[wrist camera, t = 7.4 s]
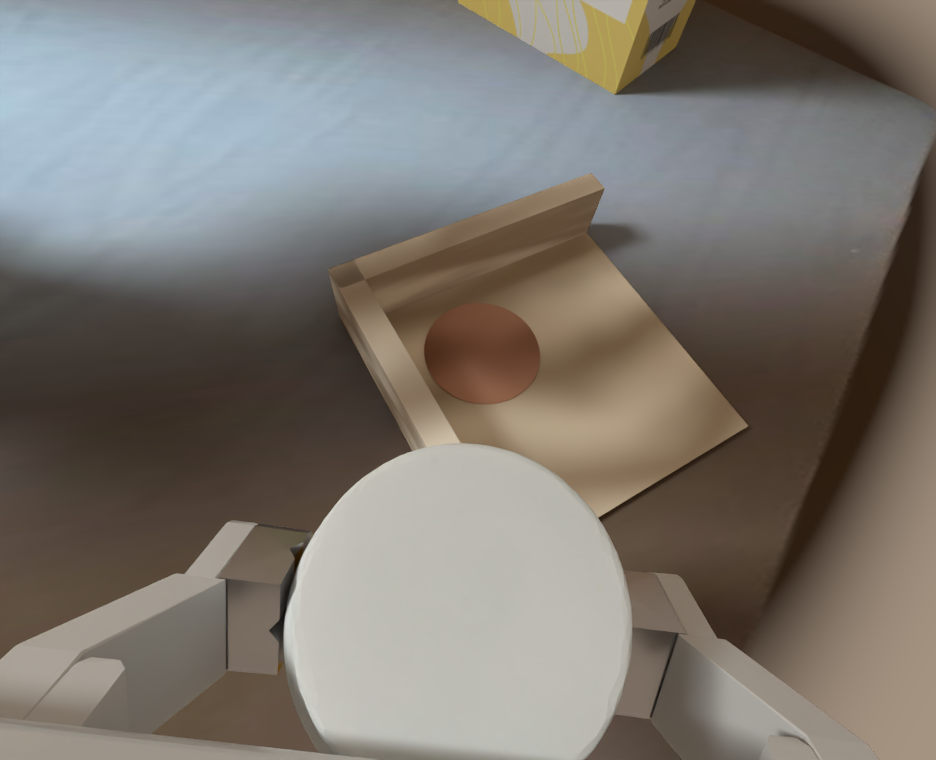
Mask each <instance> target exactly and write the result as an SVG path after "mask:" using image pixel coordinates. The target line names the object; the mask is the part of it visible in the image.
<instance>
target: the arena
mask: <svg viewBox="0 0 936 760" xmlns="http://www.w3.org/2000/svg"><path fill="white" fill-rule="evenodd" d="M604 189H605V188H604V187H603V186H602V184H601V183H600V182H599V181H598V180H597V179H596V178H595V177H594V176H593V174H592V173H590V174H587V175H584V176H581V177H579V178H576V179H573V180H570V181H568V182H565V183H562V184H560V185H557V186H554V187H551V188H549V189H546V190H543V191H540V192H538V193H535V194H532V195H529V196H527V197H524V198H521V199H519V200H516V201H513V202H510V203H508V204H505V205H502V206H499V207H497V208H494V209H491V210H488V211H486V212H483V213H480V214H478V215H475V216H472V217H469V218H467V219H464V220H461V221H458V222H456V223H453V224H450V225H447V226H445V227H442V228H439V229H437V230H434V231H431V232H428V233H426V234H423V235H420V236H417V237H415V238H412V239H409V240H406V241H404V242H401V243H398V244H396V245H393V246H390V247H387V248H385V249H382V250H379V251H376V252H374V253H371V254H368V255H365V256H363V257H360V258H357V259H355V260H352V261H349V262H346V263H344V264H341V265H338V266H335V267H333V268H330V269H328V272H329V276H330V280H331V284H332V288H333V293H334V297H335V301H336V305H337V309H338V313H339V317H340V319H341V320H342V322H343V324H344V326H345V328H346V330H347V331H348V333H349V335H350V337H351V339H352V341H353V343H354V344H355V346H356V348H357V350H358V352H359V354H360V355H361V357H362V359H363V361H364V363H365V365H366V367H367V368H368V370H369V372H370V374H371V376H372V378H373V379H374V381H375V383H376V385H377V387H378V389H379V391H380V392H381V394H382V396H383V398H384V400H385V402H386V403H387V405H388V407H389V409H390V411H391V413H392V415H393V416H394V418H395V420H396V422H397V424H398V426H399V428H400V429H401V431H402V433H403V435H404V437H405V439H406V440H407V442H408V444H409V446H410V448H411V450H412V451H415V450H418V449H421V448H426V447H430V446H437V445H442V444H452V443H468V444H480V445H487V446H492V447H497V448H501V449H505V450H508V451H511V452H515V453H517V454H520V455H523V456H525V457H527V458H529V459H531V460H533V461H536V462H538V463H539V464H541V465H542V466H544V467H546V468H547V469H549V470H551V471H552V472H554V473H555V474H556V475H558V476H559V477H560V478H562V479H563V480H564V481H565V482H566V483H567V484H568V485H570V486H571V487H572V488H573V489H574V490H575V491H576V492H577V493H578V494H579V495H580V496H581V498H582V499H583V500H584V501H585V502H586V503H587V504H588V505H589V506H590V508H591V509H592V510H593V511H594V513H595V514H596V516H597V517H598V518H599V517H600V516H602V515H604V514H605V513H607V512H609V511H610V510H612V509H613V508H615V507H617V506H618V505H620V504H622V503H623V502H625V501H627V500H628V499H630V498H631V497H633V496H635V495H636V494H638V493H640V492H641V491H643V490H645V489H646V488H648V487H649V486H651V485H653V484H654V483H656V482H658V481H659V480H661V479H663V478H664V477H666V476H668V475H669V474H671V473H672V472H674V471H676V470H677V469H679V468H681V467H682V466H684V465H686V464H687V463H689V462H690V461H692V460H694V459H695V458H697V457H699V456H700V455H702V454H704V453H705V452H707V451H709V450H710V449H712V448H713V447H715V446H717V445H718V444H720V443H722V442H723V441H725V440H727V439H728V438H730V437H731V436H733V435H735V434H736V433H738V432H740V431H741V430H743V429H744V428H746V427H747V426H748V425H747V424H746V423H745V421H744V420H743V419H742V418H741V417H740V415H739V414H738V413H737V412H736V411H735V409H734V408H733V407H732V406H731V405H730V403H729V402H728V401H727V400H726V399H725V397H724V396H723V395H722V394H721V393H720V391H719V390H718V389H717V388H716V387H715V385H714V384H713V383H712V382H711V381H710V379H709V378H708V377H707V376H706V375H705V373H704V372H703V371H702V370H701V369H700V367H699V366H698V365H697V364H696V363H695V361H694V360H693V359H692V358H691V357H690V356H689V354H688V353H687V352H686V351H685V350H684V348H683V347H682V346H681V345H680V344H679V342H678V341H677V340H676V339H675V338H674V336H673V335H672V334H671V333H670V332H669V330H668V329H667V328H666V327H665V326H664V324H663V323H662V322H661V321H660V320H659V318H658V317H657V316H656V315H655V314H654V312H653V311H652V310H651V309H650V308H649V306H648V305H647V304H646V303H645V302H644V300H643V299H642V298H641V297H640V296H639V294H638V293H637V292H636V291H635V290H634V288H633V287H632V286H631V285H630V284H629V283H628V281H627V280H626V279H625V278H624V277H623V275H622V274H621V273H620V272H619V271H618V269H617V268H616V267H615V266H614V265H613V263H612V262H611V261H610V260H609V259H608V257H607V256H606V255H605V254H604V253H603V251H602V250H601V249H600V248H599V247H598V245H597V244H596V243H595V242H594V241H593V239H592V238H591V237H590V236H589V235H588V233H587V231H588V229H589V226H590V224H591V221H592V219H593V216H594V214H595V211H596V209H597V206H598V204H599V201H600V199H601V196H602V194H603V192H604Z"/></svg>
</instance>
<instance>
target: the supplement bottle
mask: <svg viewBox="0 0 936 760" xmlns="http://www.w3.org/2000/svg"><path fill="white" fill-rule="evenodd" d="M631 649H632V608H631V602H630V597H629V591H628V586H627V582H626V578H625V574H624V571H623V568H622V565H621V562H620V559H619V557H618V554H617V552H616V550H615V548H614V545H613V543H612V541H611V539H610V537H609V535H608V533H607V532H606V530H605V528H604V527H603V525H602V523H601V522H600V520H599V519H598V517H597V516H596V514H595V513H594V511H593V510H592V509H591V508H590V506H589V505H588V504H587V503H586V502H585V501H584V500H583V499H582V498H581V496H580V495H579V494H578V493H577V492H576V491H575V490H574V489H573V488H572V487H571V486H570V485H568V484H567V483H566V482H565V481H564V480H563V479H562V478H560V477H559V476H558V475H556V474H555V473H554V472H552V471H551V470H549V469H547V468H546V467H544V466H542V465H541V464H539V463H538V462H536V461H533V460H531V459H529V458H527V457H525V456H523V455H520V454H517V453H515V452H511V451H508V450H505V449H501V448H497V447H492V446H487V445H480V444H468V443H452V444H442V445H437V446H430V447H426V448H421V449H418V450H415V451H412V452H408V453H406V454H403V455H400V456H398V457H396V458H394V459H392V460H390V461H388V462H386V463H384V464H383V465H381V466H380V467H378V468H377V469H375V470H374V471H372V472H371V473H369V474H368V475H366V476H364V477H363V478H362V479H361V480H360V481H358V482H357V483H356V484H355V485H354V486H353V487H351V488H350V489H349V490H348V491H347V492H346V493H345V494H344V495H343V496H342V497H341V499H340V500H339V501H338V502H337V503H336V505H335V506H334V507H333V509H332V510H331V511H330V513H329V514H328V515H327V517H326V518H325V519H324V520H323V522H322V524H321V525H320V527H319V528H318V530H317V531H316V532H315V534H314V536H313V537H312V539H311V541H310V542H309V544H308V546H307V548H306V549H305V551H304V553H303V555H302V557H301V560H300V562H299V564H298V567H297V569H296V572H295V575H294V578H293V581H292V584H291V588H290V592H289V596H288V601H287V605H286V612H285V620H284V659H285V666H286V674H287V681H288V685H289V689H290V692H291V696H292V699H293V702H294V705H295V708H296V711H297V713H298V715H299V718H300V720H301V722H302V724H303V726H304V728H305V730H306V732H307V734H308V736H309V737H310V739H311V741H312V743H313V745H314V746H315V747H316V749H317V750H318V752H319V753H324V754H333V755H342V756H351V757H361V758H370V759H379V760H585V759H586V758H587V757H588V756H589V755H590V753H591V752H592V751H593V750H594V749H595V747H596V746H597V745H598V743H599V742H600V740H601V738H602V736H603V735H604V733H605V731H606V730H607V728H608V726H609V725H610V723H611V721H612V719H613V717H614V715H615V713H616V710H617V707H618V704H619V701H620V698H621V696H622V692H623V689H624V686H625V683H626V680H627V676H628V672H629V666H630V659H631Z"/></svg>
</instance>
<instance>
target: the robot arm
mask: <svg viewBox="0 0 936 760" xmlns="http://www.w3.org/2000/svg"><path fill="white" fill-rule="evenodd" d="M312 537H313V534H312V532H311V531H307V530H300V529H294V528H287V527H280V526H273V525H266V524H257V523H252V522H243V521H235V520H232V521H229V522H227V523H226V524H225V525H224V526H223V528H222V529H221V530H220V531H219V532H218V534H217V535H216V536H215V537H214V539H213V540H212V541H211V542H210V543H209V545H208V546H207V547H206V548H205V550H204V551H203V552H202V553H201V554H200V556H199V557H198V558H197V559H196V561H195V562H194V563H193V564H192V565H191V567H190V568H189V569H188V570H187V572H186V573H185V574H173V575H171V576H169V577H167V578H165V579H162V580H160V581H158V582H156V583H153V584H151V585H149V586H147V587H145V588H142V589H140V590H138V591H136V592H133V593H131V594H129V595H127V596H125V597H122V598H120V599H118V600H116V601H113V602H111V603H109V604H107V605H105V606H102V607H100V608H98V609H96V610H93V611H91V612H89V613H87V614H84V615H82V616H80V617H78V618H76V619H73V620H71V621H69V622H67V623H64V624H62V625H60V626H58V627H56V628H53V629H51V630H49V631H47V632H44V633H42V634H40V635H38V636H36V637H33V638H31V639H29V640H27V641H24V642H22V643H20V644H18V645H16V646H15V647H14V648H13V649H11V650H10V651H9V652H8V653H7V654H6V655H5V656H4V657H3V658H2V659H1V660H0V760H379V759H370V758H361V757H351V756H342V755H333V754H324V753H315V752H306V751H297V750H288V749H279V748H270V747H261V746H252V745H243V744H234V743H225V742H216V741H207V740H198V739H189V738H180V737H171V736H162V735H153V734H151V733H152V732H154V731H155V730H156V729H157V728H159V727H160V726H161V725H162V724H164V723H165V722H166V721H167V720H169V719H170V718H171V717H172V716H174V715H175V714H176V713H177V712H179V711H180V710H181V709H182V708H184V707H185V706H186V705H187V704H188V703H190V702H191V701H192V700H193V699H195V698H196V697H197V696H198V695H200V694H201V693H202V692H203V691H205V690H206V689H207V688H208V687H210V686H211V685H212V684H213V683H215V682H216V681H217V680H218V679H220V678H221V677H222V676H223V675H225V674H226V670H227V671H239V672H250V673H262V674H274V675H278V672H279V670H280V668H281V665H282V663H283V661H284V620H285V612H286V605H287V601H288V596H289V592H290V588H291V584H292V581H293V578H294V575H295V572H296V569H297V567H298V564H299V562H300V560H301V557H302V555H303V553H304V551H305V549H306V548H307V546H308V544H309V542H310V541H311V539H312ZM623 571H624V574H625V578H626V582H627V586H628V591H629V597H630V602H631V608H632V649H631V659H630V666H629V672H628V676H627V680H626V683H625V686H624V689H623V692H622V696H621V698H620V701H619V704H618V707H617V710H616V713H615V714H617V715H624V716H631V717H638V718H645V719H651V723H652V724H653V725H654V727H655V728H656V729H657V730H658V731H659V733H660V734H661V735H662V736H663V738H664V739H665V740H666V741H667V742H668V744H669V745H670V746H671V747H672V748H673V750H674V751H675V752H676V753H677V754H678V756H679V757H680V758H681V759H682V760H879V759H878V757H877V756H876V755H875V753H874V752H873V751H872V749H871V748H870V747H869V745H868V744H867V743H865V742H864V741H862V740H861V739H860V738H858V737H857V736H856V735H854V734H853V733H852V732H850V731H849V730H847V729H846V728H845V727H843V726H842V725H841V724H839V723H838V722H837V721H835V720H834V719H832V718H831V717H830V716H828V715H827V714H826V713H825V712H823V711H822V710H820V709H819V708H818V707H816V706H815V705H814V704H812V703H811V702H810V701H808V700H807V699H806V698H804V697H803V696H801V695H800V694H799V693H797V692H796V691H795V690H793V689H792V688H790V687H789V686H788V685H787V684H785V683H784V682H782V681H781V680H780V679H778V678H777V677H776V676H774V675H773V674H772V673H770V672H769V671H768V670H766V669H765V668H763V667H762V666H761V665H759V664H758V663H757V662H755V661H754V660H753V659H751V658H750V657H749V656H747V655H746V654H745V653H743V652H742V651H740V650H739V649H738V648H736V647H735V646H734V645H732V644H731V643H730V642H728V641H727V640H725V639H717V637H716V635H715V634H714V632H713V630H712V628H711V627H710V625H709V623H708V622H707V620H706V618H705V617H704V615H703V613H702V611H701V610H700V608H699V606H698V605H697V603H696V601H695V599H694V598H693V596H692V594H691V593H690V591H689V589H688V587H687V586H686V584H685V582H684V581H683V579H682V578H681V577H680V576H678V575H675V574H664V573H653V572H651V573H646V572H637V571H628V570H623Z"/></svg>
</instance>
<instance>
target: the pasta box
mask: <svg viewBox="0 0 936 760" xmlns="http://www.w3.org/2000/svg"><path fill="white" fill-rule="evenodd" d="M695 1H696V0H458V3H460V4H461V5H463V6H465V7H466V8H468V9H470V10H472V11H473V12H475V13H477V14H478V15H480V16H482V17H484V18H485V19H487V20H489V21H490V22H492V23H494V24H495V25H497V26H499V27H501V28H502V29H504V30H506V31H507V32H509V33H511V34H512V35H514V36H516V37H518V38H519V39H521V40H523V41H524V42H526V43H528V44H529V45H531V46H533V47H535V48H536V49H538V50H540V51H541V52H543V53H545V54H547V55H548V56H550V57H552V58H553V59H555V60H557V61H558V62H560V63H562V64H564V65H565V66H567V67H569V68H570V69H572V70H574V71H575V72H577V73H579V74H581V75H582V76H584V77H586V78H587V79H589V80H591V81H592V82H594V83H596V84H598V85H599V86H601V87H603V88H604V89H606V90H608V91H610V92H611V93H613V94H616V93H618V92H619V91H620V90H622V89H623V88H624V87H625V86H627V85H628V84H629V83H631V82H632V81H633V80H634V79H636V78H637V77H638V76H640V75H641V74H642V73H643V72H645V71H646V70H647V69H648V68H650V67H651V66H652V65H654V64H655V63H656V62H657V61H659V60H660V59H661V58H663V57H664V56H665V55H666V54H668V53H669V52H670V51H672V50H673V49H674V48H675V47H676V46H677V43H678V41H679V39H680V36H681V34H682V32H683V29H684V27H685V25H686V22H687V20H688V18H689V15H690V13H691V11H692V8H693V6H694V4H695Z"/></svg>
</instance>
